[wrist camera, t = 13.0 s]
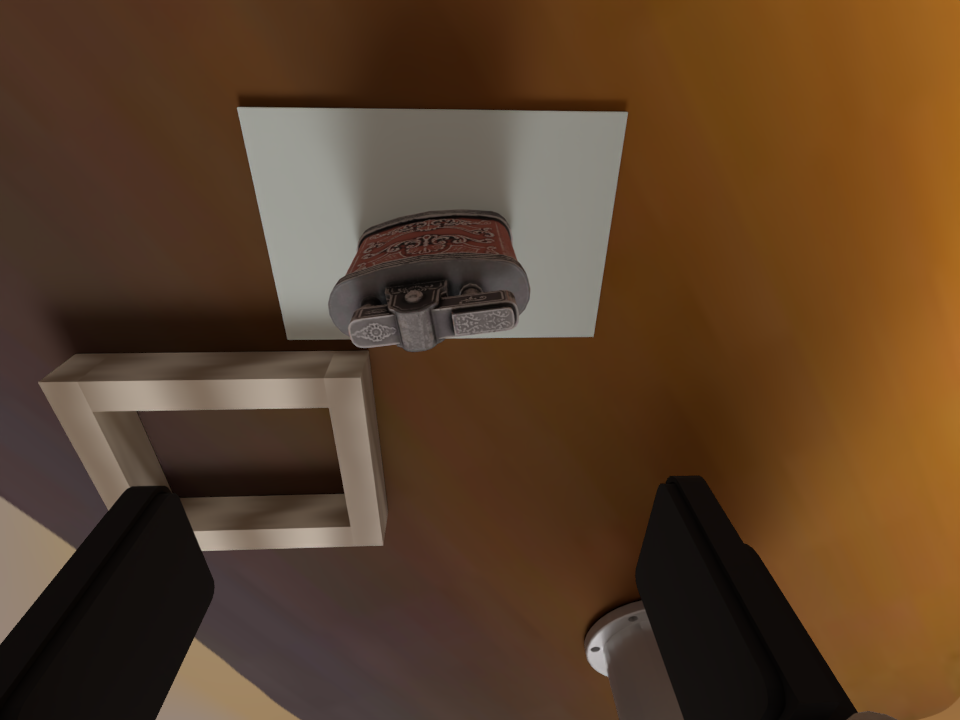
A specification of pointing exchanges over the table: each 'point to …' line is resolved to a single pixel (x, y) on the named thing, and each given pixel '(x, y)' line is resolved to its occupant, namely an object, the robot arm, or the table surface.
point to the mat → (436, 197)
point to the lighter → (431, 281)
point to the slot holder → (230, 385)
